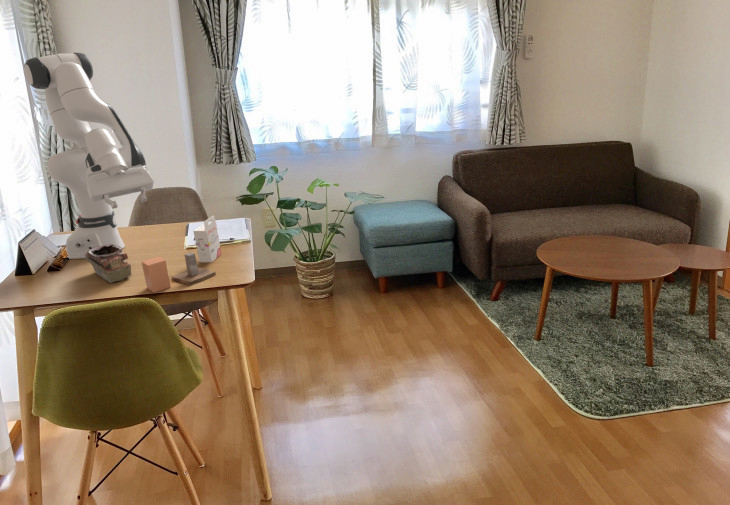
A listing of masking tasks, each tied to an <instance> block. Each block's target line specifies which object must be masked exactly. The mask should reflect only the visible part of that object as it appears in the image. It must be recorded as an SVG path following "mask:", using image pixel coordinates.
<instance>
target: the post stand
mask: <svg viewBox="0 0 730 505" xmlns="http://www.w3.org/2000/svg"><path fill="white" fill-rule="evenodd" d="M183 256H184V259H185V260H184V261H185V265H186V266H185V267H186V270H185V271H182V272H180V273H177V274H174V275H171V280H173V281H176V282H179V283H182V284H186V285H188V286H192V285H194V284H196V283H199V282H202V281H204V280H207V279H209V278H211V277H214V276H216V274H217V273H216V271H213V270H210V269H206V268H203V267H200V266H198V262H197V257H196V253H195V252H188V253H185V254H183Z"/></svg>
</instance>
